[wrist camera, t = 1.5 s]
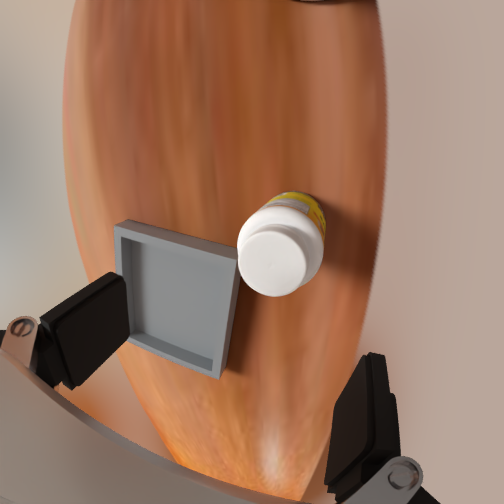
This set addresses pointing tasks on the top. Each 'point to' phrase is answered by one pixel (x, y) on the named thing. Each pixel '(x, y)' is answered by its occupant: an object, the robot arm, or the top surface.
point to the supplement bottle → (282, 244)
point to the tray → (178, 294)
